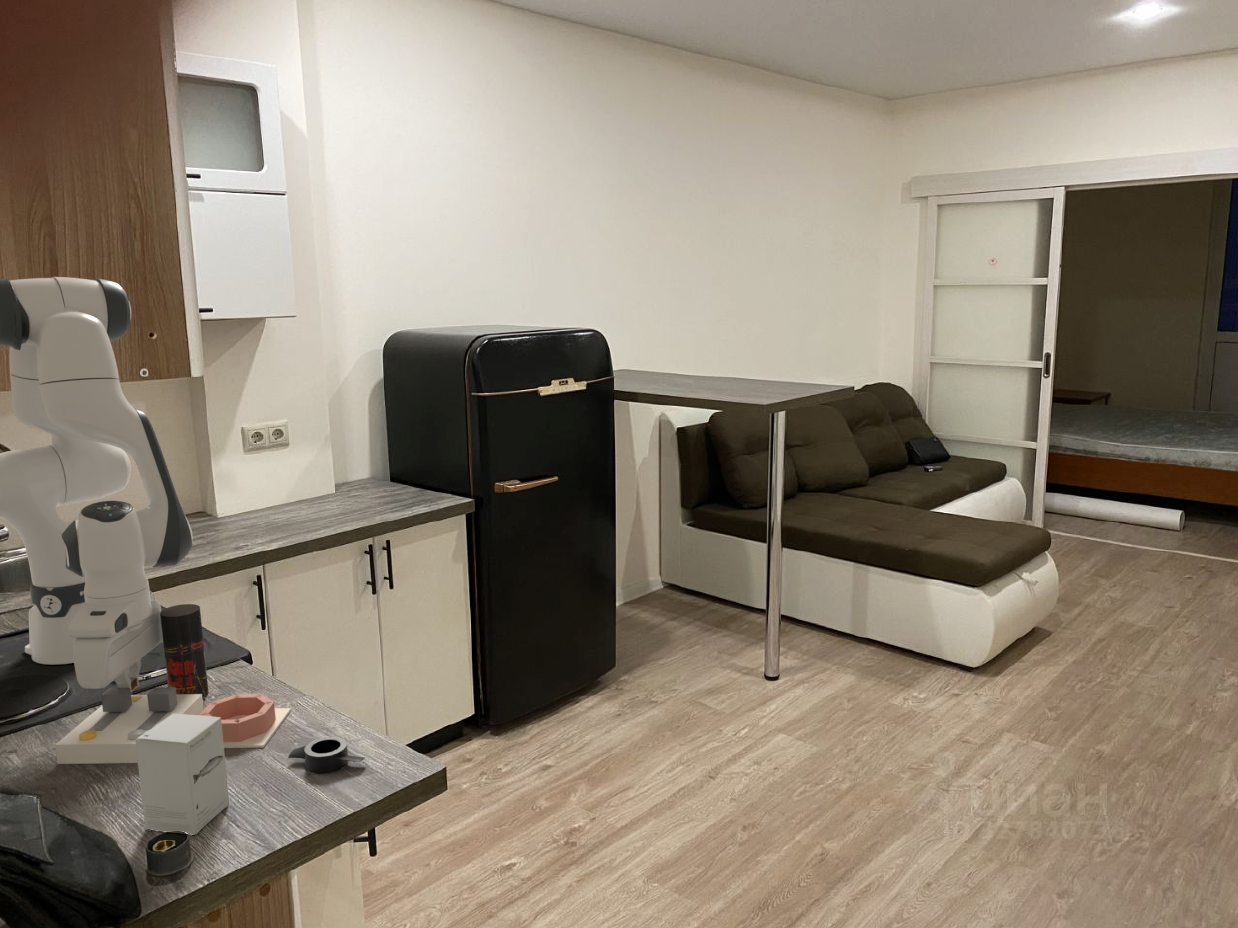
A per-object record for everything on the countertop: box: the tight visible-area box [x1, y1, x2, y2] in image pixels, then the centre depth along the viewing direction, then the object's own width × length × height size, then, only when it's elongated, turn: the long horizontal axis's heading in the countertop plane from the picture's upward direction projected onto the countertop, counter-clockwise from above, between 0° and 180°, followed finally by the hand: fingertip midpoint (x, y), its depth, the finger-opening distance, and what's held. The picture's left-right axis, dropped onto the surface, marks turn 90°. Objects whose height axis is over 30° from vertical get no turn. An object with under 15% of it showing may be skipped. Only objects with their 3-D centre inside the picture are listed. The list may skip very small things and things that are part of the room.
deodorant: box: [160, 603, 209, 699], centre depth 152 cm, size 6×6×15 cm
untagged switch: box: [146, 686, 177, 711], centre depth 141 cm, size 2×3×3 cm
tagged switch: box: [100, 687, 132, 712], centre depth 141 cm, size 2×3×3 cm
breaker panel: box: [54, 694, 205, 765], centre depth 140 cm, size 16×14×4 cm
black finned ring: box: [287, 736, 366, 775], centre depth 131 cm, size 8×10×3 cm
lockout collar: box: [199, 693, 292, 749], centre depth 142 cm, size 12×12×3 cm
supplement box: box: [135, 713, 230, 836], centre depth 117 cm, size 7×7×13 cm
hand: (129, 690), depth 145 cm, fingers closed
